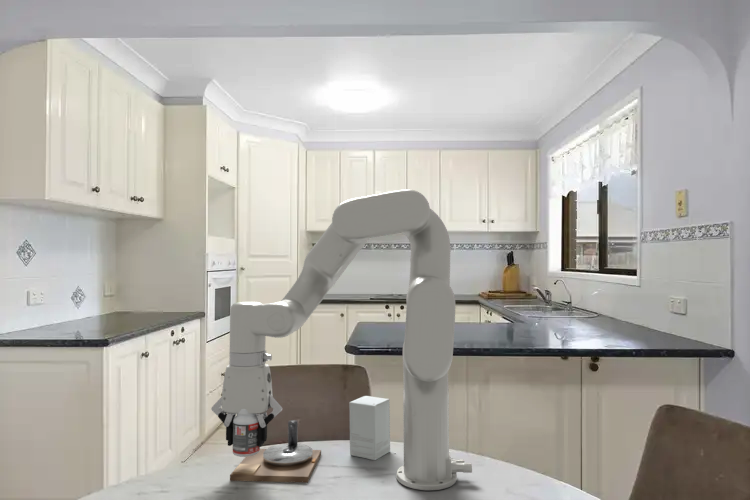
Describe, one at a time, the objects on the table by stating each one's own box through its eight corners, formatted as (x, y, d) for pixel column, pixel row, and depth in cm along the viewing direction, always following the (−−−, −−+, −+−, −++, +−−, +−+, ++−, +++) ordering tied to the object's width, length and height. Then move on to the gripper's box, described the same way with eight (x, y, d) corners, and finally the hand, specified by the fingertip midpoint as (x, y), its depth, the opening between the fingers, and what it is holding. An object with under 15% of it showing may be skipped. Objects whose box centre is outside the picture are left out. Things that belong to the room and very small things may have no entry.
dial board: (321, 455, 119) (321, 448, 120) (307, 482, 104) (307, 474, 104) (253, 453, 121) (253, 446, 121) (229, 480, 105) (229, 472, 105)
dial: (316, 447, 119) (316, 420, 120) (307, 466, 108) (307, 435, 108) (271, 446, 120) (271, 419, 120) (256, 465, 109) (257, 435, 109)
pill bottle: (252, 458, 105) (253, 410, 105) (227, 456, 106) (228, 408, 106) (264, 449, 110) (264, 403, 111) (240, 447, 111) (240, 401, 112)
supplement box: (391, 451, 122) (390, 398, 122) (374, 461, 116) (374, 405, 116) (365, 445, 126) (365, 394, 126) (348, 455, 119) (348, 401, 120)
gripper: (290, 356, 112) (290, 439, 111) (215, 355, 113) (214, 437, 112) (282, 363, 104) (281, 451, 104) (201, 361, 106) (200, 449, 105)
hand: (246, 443), depth 108 cm, fingers closed on pill bottle, 5 cm apart
